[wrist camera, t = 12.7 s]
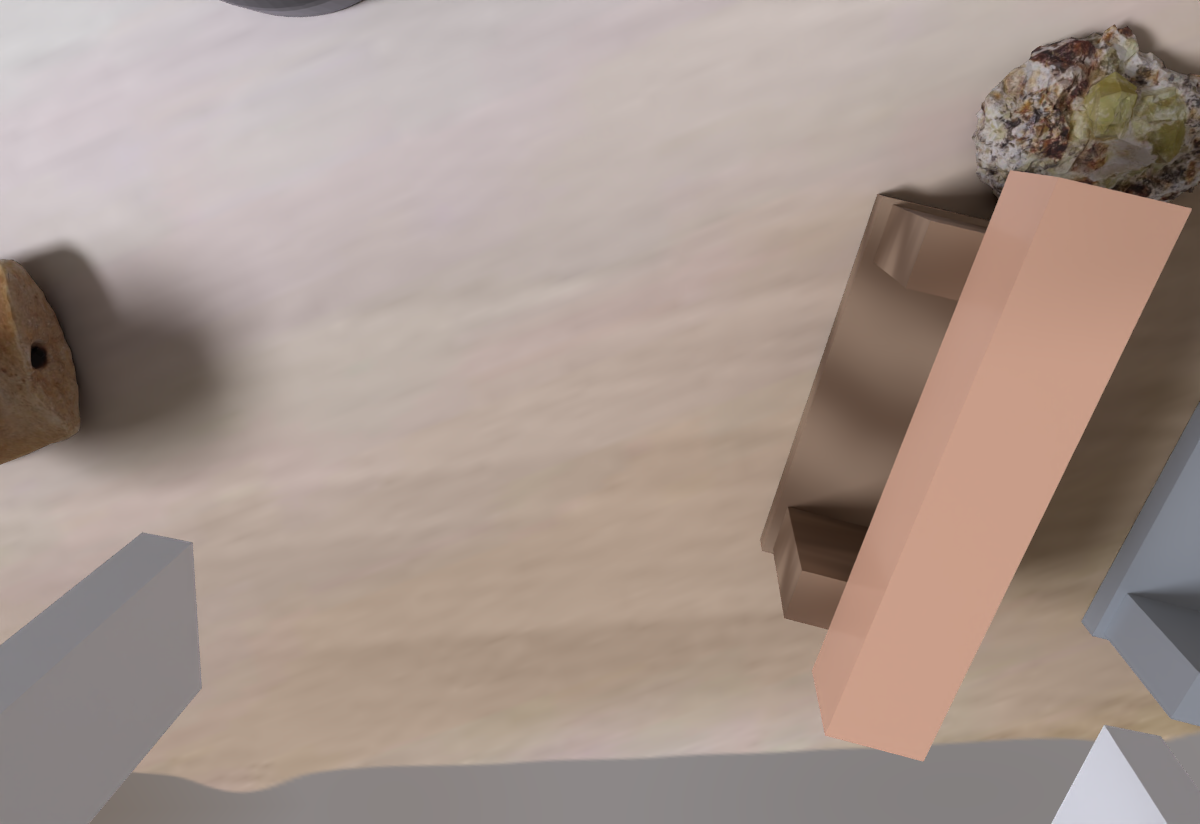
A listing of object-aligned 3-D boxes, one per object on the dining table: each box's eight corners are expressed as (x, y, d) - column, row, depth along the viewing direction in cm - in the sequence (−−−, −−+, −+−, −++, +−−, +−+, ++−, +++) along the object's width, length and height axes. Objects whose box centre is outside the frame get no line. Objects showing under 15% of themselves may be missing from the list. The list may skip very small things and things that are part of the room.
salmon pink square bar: (1010, 170, 27) (1059, 177, 23) (1125, 197, 27) (1192, 208, 23) (812, 670, 35) (825, 735, 31) (899, 693, 35) (923, 761, 31)
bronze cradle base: (877, 194, 35) (919, 210, 28) (1079, 242, 34) (1170, 269, 28) (760, 539, 41) (771, 619, 34) (929, 582, 41) (973, 672, 34)
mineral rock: (958, 243, 33) (1022, 36, 28) (933, 205, 37) (986, 15, 32) (1225, 259, 32) (1337, 49, 28) (1173, 218, 36) (1264, 26, 31)
